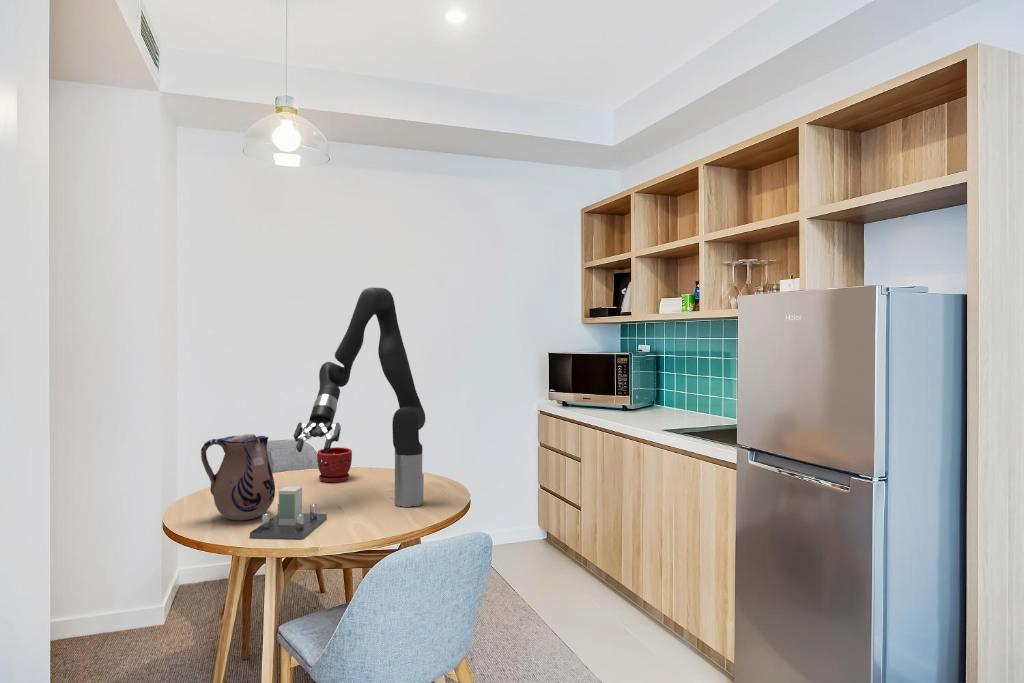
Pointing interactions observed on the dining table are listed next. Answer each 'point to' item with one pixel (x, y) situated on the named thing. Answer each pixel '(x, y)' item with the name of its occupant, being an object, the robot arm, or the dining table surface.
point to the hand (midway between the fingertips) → (312, 450)
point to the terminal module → (290, 505)
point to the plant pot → (334, 464)
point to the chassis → (299, 531)
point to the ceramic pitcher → (241, 477)
